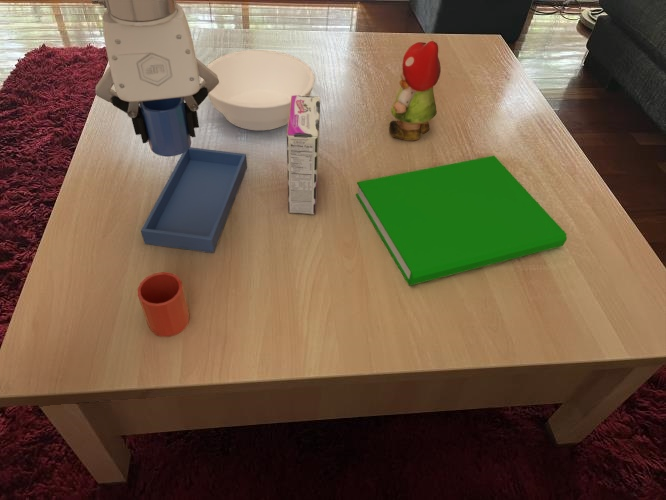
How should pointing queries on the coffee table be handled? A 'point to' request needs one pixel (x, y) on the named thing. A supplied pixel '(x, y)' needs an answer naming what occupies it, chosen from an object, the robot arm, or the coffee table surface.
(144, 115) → the blue cup
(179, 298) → the red cup
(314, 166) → the candy bar box
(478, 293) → the coffee table surface
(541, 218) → the book
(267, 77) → the bowl
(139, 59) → the robot arm
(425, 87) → the figurine
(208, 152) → the blue tray
